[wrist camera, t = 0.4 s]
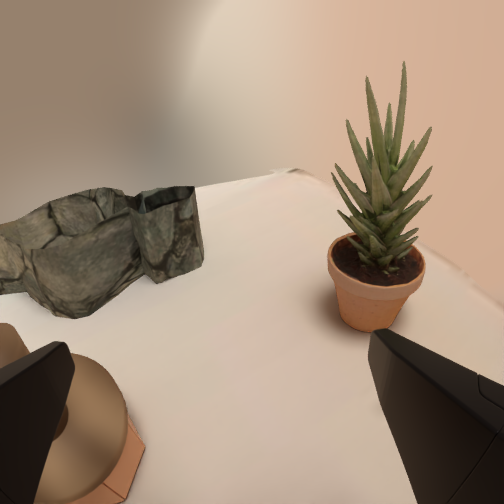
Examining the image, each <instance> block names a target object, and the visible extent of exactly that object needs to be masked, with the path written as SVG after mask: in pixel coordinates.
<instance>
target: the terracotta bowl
mask: <svg viewBox="0 0 504 504" xmlns="http://www.w3.org/2000/svg"><path fill="white" fill-rule="evenodd" d="M144 446H145V445H144V443H143V441H142V440H141V438H140V436H139V434H138V432H137V430H136V429H135V427H134V425H133V423H132V421H131V419H130V417H129V415H128V433H127V438H126V443H125V446H124V449H123V452H122V455H121V457H120V459H119V461H118V463H117V465H116V466H115V468H114V469H113V471H112V472H111V474H110V475H109V476H108V477H107V478H106V479H105V481H104V482H103V483H102V484H101V485H100V486H98V487H97V488H96V489H95V490H94V491H92V492H91V493H89V494H87V495H86V496H84V497H82V498H80V499H78V500H76V501H73V502H70V503H66V504H116V503H119V502H121V501H124V499H123V498H125V499H126V496H127V494H128V491H129V488H130V486H131V483H132V480H133V477H134V475H135V472H136V469H137V467H138V464H139V461H140V459H141V456H142V453H143V451H144V448H145V447H144Z"/></svg>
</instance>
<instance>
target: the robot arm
mask: <svg viewBox="0 0 504 504" xmlns="http://www.w3.org/2000/svg"><path fill="white" fill-rule="evenodd" d="M368 361H369V365H370V369H371V372H372V376H373V379H374V383H375V387H376V390H377V394H378V398H379V401H380V405H381V407H382V410H383V413H384V415H385V417H386V420H387V423H388V425H389V428H390V430H391V433H392V435H393V438H394V440H395V443H396V446H397V448H398V451H399V453H400V456H401V459H402V461H403V464H404V467H405V470H406V472H407V475H408V478H409V481H410V483H411V486H412V489H413V492H414V495H415V498H416V501H417V503H418V504H504V386H503V385H501V384H499V383H497V382H494V381H492V380H490V379H488V378H486V377H484V376H482V375H480V374H479V375H477V373H476V372H474V371H472V370H470V369H468V368H466V367H463V366H461V365H459V364H457V363H455V362H453V361H451V360H449V359H447V358H445V357H443V356H441V355H439V354H437V353H435V352H433V351H431V350H429V349H427V348H425V347H423V346H421V345H419V344H417V343H415V342H413V341H411V340H409V339H407V338H405V337H403V336H401V335H399V334H397V333H395V332H393V331H391V330H389V329H386V328H383V329H376V330H373V331H372V333H371V336H370V344H369V350H368ZM74 373H75V363H74V360H73V358H72V355H71V353H70V350H69V348H68V345H67V344H66V343H65V342H58V341H54V342H52V343H50V344H48V345H46V346H44V347H42V348H40V349H38V350H36V351H34V352H32V353H30V354H28V355H26V356H24V357H22V358H20V359H18V360H16V361H14V362H12V363H10V364H8V365H6V366H4V367H2V368H0V504H34V501H35V497H36V493H37V490H38V486H39V483H40V479H41V476H42V473H43V469H44V466H45V463H46V460H47V457H48V454H49V451H50V448H51V445H52V442H53V439H54V436H55V433H56V431H57V428H58V425H59V422H60V420H61V417H62V414H63V411H64V408H65V405H66V401H67V397H68V394H69V390H70V387H71V383H72V380H73V376H74Z"/></svg>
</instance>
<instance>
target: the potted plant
mask: <svg viewBox="0 0 504 504" xmlns="http://www.w3.org/2000/svg"><path fill="white" fill-rule="evenodd" d="M365 81H366V94H367V105H368V112H369V120H370V127H371V135H372V144H373V150H374V156H373V153H372V149H371V145H370V142H369V139H368V137H367V138H366V146H367V157H368V160H367V158H366V156H365V154H364V152H363V150H362V148H361V146H360V144H359V142H358V141H357V138H356V136H355V134H354V132H353V130H352V128H351V126H350V123H349V121H348V120H346V127H347V132H348V136H349V139H350V143H351V146H352V150H353V153H354V156H355V159H356V162H357V164H358V167H359V170H360V172H361V175H362V178H363V181H364V183H365V187H366V191H367V192H366V193H364V192H362V191H361V190H360V189H359V188H358V186H357V185H356V183H353V182H352V181H351V180H350V179H349V178H348V177H347V176H346V175H345V174H344V172H343V171H342V170H341V168H340V167H339V166H338V165H337V164H336V163H335V168H336V170H337V172H338V174H339V176H340V177H341V179H342V181H343V182H344V184H345V186H346V187H347V189H348V190H349V192H350V193H351V195H352V197H353V198H354V200H355V201H356V203H357V204H358V206H359V207H360V209H361V210H362V213H360V212H359V211H358V210H357V209H356V207H355V206H354V205H353V204H352V202H351V201H350V199H349V198H348V196H347V194H346V193H345V192H344V190H343V189H342V187H341V185H340V184H339V182H338V181H337V179H336V177H335V176H334V175H333V173H332V172H331V174H332V176H333V180H334V182H335V184H336V187H337V189H338V191H339V192H340V194H341V196H342V198H343V200H344V201H345V203H346V205H347V207H348V208H349V210H350V211H351V213H352V214H353V216H350V218H349V217H347V216H346V215H344V214H343V213H342V212H341V211H340V210H337V212H338V213H339V214H340V216H341V217H342V218H343V219H344V221H345V222H346V223H347V224H348V226H349V227H350V228H351V229H352V230H353V231H354V232H353V233H348V234H346V235H344V236H342V237H339V238H337V239H336V240H335V241H334V242H333V243H332V244H331V246H330V247H329V250H328V255H327V257H328V271H329V274H330V276H331V277H332V279H333V280H334V283H335V288H336V293H337V298H338V304H339V310H340V316H341V318H342V319H343V321H344V322H345V323H346V324H348V325H349V326H351V327H352V328H354V329H357V330H359V331H364V332H372V331H373V330H376V329H383V328H388V327H389V326H390V325H391V324H392V322H393V321H394V319H395V317H396V316H397V314H398V312H399V311H400V309H401V307H402V306H403V304H404V303H405V301H406V300H407V298H408V297H409V295H411V294H412V293H414V292H415V291H416V290H417V289H418V288H419V287H420V285H421V283H422V280H423V277H424V273H425V260H424V257H423V255H422V254H421V252H420V251H419V250H418V249H417V248H416V247H415V246H414V245H413V244H412V243H413V242H414V241H415V240H416V239H417V238H418V236H416V237H414V238H412V239H410V240H408V241H406V239H408V238H409V237H410V236H412V235H413V234H415V233H416V232H417V231H418V228H415V229H413V230H411V231H409V232H407V233H406V234H404V235H400V234H401V232H402V231H403V229H404V227H405V226H406V224H407V223H408V222H409V221H410V220H411V219H412V218H413V217H414V216H415V215H416V214H417V213H418V212H419V210H420V209H421V208H422V207H423V206H424V205H425V204H426V203H427V202H428V201H429V200H430V198H431V197H432V195H430V196H429V197H427V198H426V199H425V200H424V201H419V200H418V201H417V202H415V203H414V204H412V205H411V206H410V207H408V208H406V209H405V210H404V208H405V207H406V206H407V205H408V203H409V202H410V201H411V200H412V199H413V197H414V196H415V195H416V194H417V193H418V191H419V190H420V188H421V187H422V185H423V184H424V183H425V181H426V179H427V178H428V176H429V174H430V172H431V169H432V166H431V167H430V168H429V169H428V170H427V171H426V172H425V173H424V174H423V176H422V177H421V178H420V179H419V180H418V181H417V182H416V183H414V184H413V185H412V186H411V187H410V188H409V189H407V191H402V189H403V187H404V185H405V183H406V182H407V180H408V179H409V177H410V175H411V173H412V172H413V170H414V168H415V166H416V164H417V162H418V160H419V159H420V157H421V155H422V153H423V151H424V149H425V147H426V145H427V143H428V139H429V136H430V133H431V131H432V129H431V128H432V127H430V128H429V129H428V131H427V132H426V133H425V135H424V136H423V138H422V139H421V141H420V143H419V144H418V145H417V147H416V149H415V150H414V143H415V142H414V140H413V141H412V142H411V144H410V146H409V148H408V150H407V151H406V153H405V155H404V157H403V158H402V159H401V161H400V162H399V164H398V165H397V163H398V159H399V153H400V146H401V139H402V132H403V125H404V114H405V105H406V92H407V79H406V67H405V61H404V62H403V69H402V80H401V91H400V98H399V106H398V112H397V118H396V125H395V132H394V138H393V135H392V133H393V126H392V111H391V104H390V103H389V105H388V110H387V119H386V124H385V131H384V136H383V132H382V128H381V123H380V118H379V113H378V109H377V105H376V102H375V99H374V95H373V92H372V90H371V86H370V82H369V79H368V77H366V80H365Z"/></svg>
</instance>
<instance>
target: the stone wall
mask: <svg viewBox="0 0 504 504" xmlns="http://www.w3.org/2000/svg"><path fill="white" fill-rule="evenodd" d="M203 260H204V248H203V242H202V236H201V229H200V222H199V216H198V209H197V202H196V195H195V187H194V186H174V187H168V188H156V189H153V190H149V191H142V192H141V193H139V194H138V195H136V196H135V197H132V196H126V195H124V193H123V191H122V190H117V189H112V188H105V187H103V188H97V189H90V190H85V191H82V192H79V193H75V194H72V195H68V196H65V197H62V198H59V199H56V200H53V201H49V202H47V203H46V204H44V205H42V206H40V207H39V208H37V209H35V210H34V211H32V212H30V213H29V214H27V215H25V216H24V217H22V218H20V219H18V220H16V221H12V222H8V223H4V224H1V225H0V295H3V294H12V293H21V292H28V293H29V295H30V296H31V298H33V299H34V300H35V301H36V302H38V303H39V304H40V305H41V306H43V307H45V308H47V309H49V310H50V311H51V313H52V314H53V315H54V316H58V317H64V318H71V319H78V318H82V317H86V316H90V315H91V314H93V313H94V312H95V311H97V310H98V309H99V308H101V307H102V306H104V305H105V304H106V303H108V302H109V301H111V300H112V299H113V298H115V297H116V296H117V295H119V294H120V293H121V292H122V291H123V290H125V289H126V288H127V287H128V286H129V285H130V284H132V283H133V282H134V281H136V280H137V279H138V278H140V277H141V276H142V275H144V274H146V275H147V276H149V277H150V278H151V279H152V280H153V281H154V282H155V283H156V284H158V283H162V282H163V281H165V280H166V279H168V278H172V277H177V276H179V275H183V274H186V273H188V272H190V271H193V270H195V269H197V268H199V267H201V266H202V263H203Z"/></svg>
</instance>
